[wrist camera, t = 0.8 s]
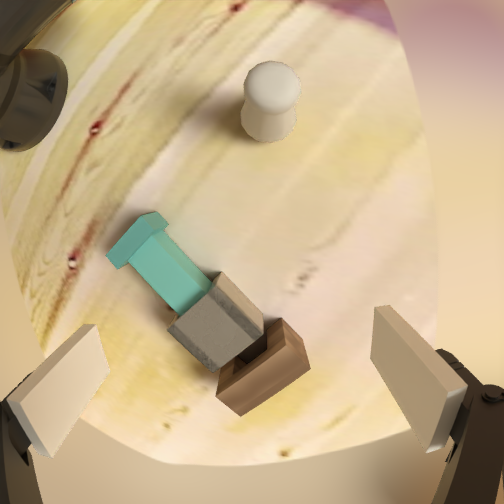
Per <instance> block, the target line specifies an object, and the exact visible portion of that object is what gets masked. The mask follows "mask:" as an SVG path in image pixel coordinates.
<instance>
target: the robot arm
mask: <svg viewBox="0 0 504 504" xmlns="http://www.w3.org/2000/svg"><path fill="white" fill-rule="evenodd" d="M75 1H76V0H0V148H2V149H5V150H9V151H24V150H27V149H30V148H32V147H33V146H35V145H36V144H38V143H39V142H40V141H41V140H42V139H43V138H44V137H45V136H46V135H47V134H48V132H49V131H50V130H51V128H52V127H53V125H54V124H55V122H56V120H57V119H58V117H59V115H60V112H61V110H62V108H63V105H64V102H65V98H66V94H67V87H68V75H67V70H66V67H65V64H64V63H63V61H62V60H61V59H60V58H59V57H58V56H56V55H54V54H53V53H51V52H49V51H46V50H42V49H23V48H24V47H25V46H26V45H27V44H28V43H29V42H30V41H31V40H32V39H33V38H34V37H35V36H36V35H37V34H38V33H39V32H40V31H41V30H42V29H43V28H44V27H45V26H46V25H47V24H48V23H49V22H50V21H51V20H53V19H54V18H55V17H56V16H57V15H58V14H59V13H60V12H62V11H63V10H64V9H65V8H66V7H67V6H69V5H70V4H71V3H72V4H73V3H74V2H75ZM370 359H371V360H372V362H373V364H374V365H375V367H376V369H377V370H378V372H379V373H380V375H381V377H382V378H383V380H384V382H385V383H386V385H387V387H388V388H389V390H390V392H391V393H392V395H393V397H394V398H395V400H396V402H397V404H398V405H399V407H400V409H401V410H402V412H403V414H404V415H405V417H406V419H407V421H408V422H409V424H410V426H411V428H412V429H413V431H414V433H415V435H416V436H417V438H418V440H419V441H420V443H421V445H422V447H423V449H424V450H425V452H426V453H428V452H432V451H434V450H437V449H440V448H443V447H445V445H446V442H447V440H448V438H449V436H451V437H452V439H453V440H454V444H453V446H452V449H451V451H450V453H449V455H448V457H447V459H446V461H445V462H447V464H446V467H445V470H444V473H443V475H442V478H441V481H440V484H439V486H438V488H437V491H436V493H435V496H434V498H433V501H432V503H431V504H495V501H496V496H497V491H498V487H499V482H500V477H501V471H502V475H503V487H504V389H503V388H501V387H499V386H496V385H483V384H482V383H480V381H479V380H478V379H477V378H476V377H475V376H474V375H473V374H472V373H470V371H469V370H468V369H467V368H464V365H463V364H462V363H461V362H459V361H458V359H457V358H455V357H454V355H452V354H451V353H449V352H447V351H445V350H443V349H438V350H434V349H433V348H432V347H431V346H430V345H429V344H428V343H427V342H426V341H425V340H424V339H423V338H422V337H421V336H420V335H419V334H418V333H417V332H416V331H415V330H414V329H413V328H412V327H411V326H410V325H409V324H408V323H407V322H406V321H405V320H404V319H403V318H402V317H401V316H400V315H399V314H398V313H397V312H396V311H395V310H394V309H393V308H392V307H391V306H390V305H386V306H379V307H374V322H373V335H372V346H371V356H370ZM109 373H110V369H109V366H108V363H107V360H106V356H105V353H104V350H103V347H102V343H101V340H100V336H99V333H98V329H97V325H96V324H83V325H82V326H81V327H80V328H79V329H78V330H77V331H76V332H75V333H74V334H73V335H71V336H70V337H69V338H68V339H67V340H66V341H65V342H64V343H63V344H62V345H61V346H60V347H59V348H58V349H56V350H55V351H54V352H53V353H52V354H51V355H50V356H49V357H48V358H47V359H46V360H45V361H44V362H43V363H42V364H41V365H40V366H39V367H38V368H37V369H36V370H35V371H33V372H32V373H30V374H29V375H27V377H25V378H24V379H23V382H20V383H19V384H18V387H15V388H14V390H12V391H11V393H9V394H8V396H7V397H5V399H4V400H3V401H2V402H0V504H43V502H42V498H41V495H40V491H39V487H38V483H37V479H36V474H35V470H34V465H33V460H32V455H31V453H30V451H29V450H28V447H29V446H30V444H32V445H33V447H34V448H35V450H36V451H37V453H38V454H40V455H43V456H46V457H49V458H53V457H54V455H55V453H56V452H57V450H58V449H59V447H60V446H61V444H62V443H63V441H64V439H65V438H66V436H67V435H68V433H69V432H70V430H71V429H72V427H73V426H74V424H75V423H76V421H77V420H78V418H79V417H80V415H81V414H82V412H83V411H84V409H85V408H86V406H87V405H88V403H89V402H90V400H91V399H92V397H93V396H94V394H95V393H96V392H97V390H98V389H99V387H100V386H101V384H102V383H103V381H104V380H105V379H106V377H107V376H108V374H109Z"/></svg>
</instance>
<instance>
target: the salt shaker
mask: <svg viewBox="0 0 504 504" xmlns="http://www.w3.org/2000/svg"><path fill="white" fill-rule="evenodd" d="M300 94H301V86H300V79H299V77H298V76H297V74H296V73H295V71H294V70H293V69H292V68H291V67H289V66H287V65H286V64H284V63H281V62H275V61H267V62H263V63H260V64H257V65H256V66H255V67H254V68H252V69H251V70H250V71H249V72H248V75H247V77H246V79H245V82H244V96H245V98H246V100H245V102H244V105H243V107H242V109H241V112H240V115H241V125H242V126H243V128H244V129H245V131H246V132H247V134H248V135H250V136H251V137H253V138H254V139H256V140H257V141H260V142H268V143H272V142H276V141H280V140H283V139H284V138H285V137H287V136H288V135H289V134H290V133H291V132H292V131H293V128H294V126H295V123H296V121H297V119H296V111H295V107H294V106H295V105H296V104H297V102H298V99H299V97H300Z"/></svg>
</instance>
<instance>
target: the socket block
mask: <svg viewBox="0 0 504 504" xmlns="http://www.w3.org/2000/svg"><path fill="white" fill-rule="evenodd" d="M267 348H268V349H267V350H266V351H265V352H263V353H262V354H261V355H259V356H258V357H257V358H255V359H254V360H253V361H251V362H250V363H249V364H246V363H244V362H243V361H242V360H241V359H240V358H239V357H238V356H237V355H236V356H235V357H234V358H233V359H231V360H230V361H229V362H227V363H226V364H225V365H223V366H222V367H221V372H220V377H219V382H218V386H217V391H216V396H215V397H217V398H218V399H219V400H220V401H221V402H223V403H224V404H225V405H226V406H228V407H229V408H230V409H231V410H233V411H234V412H235V413H236V414H238V415H239V416H240V417H241V416H242V415H244V414H246V413H247V412H249V411H250V410H252V409H254V408H255V407H257V406H258V405H260V404H261V403H263V402H264V401H266V400H267V399H269V398H270V397H272V396H273V395H275V394H276V393H278V392H279V391H281V390H282V389H283V388H285V387H286V386H288V385H289V384H291V383H292V382H293V381H295V380H296V379H298V378H299V377H300V376H302V375H303V374H304V373H306V372H307V371H309V370H310V369H311V368H310V364H309V361H308V357H307V354H306V350H305V346H304V343H303V339H302V338H301V337H300V336H299V335H298V334H297V333H296V332H295V331H294V330H293V329H292V328H291V327H290V326H289V325H288V324H287V323H286V322H285V321H284V320H283V319H282V318H281V319H279V320H278V321H277V322H276V323H274V324H273V325H272V326H271V327H270V328H268V329H267Z"/></svg>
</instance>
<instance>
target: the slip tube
mask: <svg viewBox="0 0 504 504" xmlns="http://www.w3.org/2000/svg"><path fill="white" fill-rule="evenodd" d="M168 225H169V224H168V223H167V222H166V221H165V219H164V218H163V217H162V216H161V215H160V214H159V213H158V212H153V213H149V214H145V215H141V216H140V217H139V218H138V219H137V221H136V222H135V223H134V224H133V225H132V226H131V227H130V228H129V229H128V230H127V232H126V233H125V234H124V235H123V236H122V237H121V238H120V239H119V240H118V242H117V243H116V244H115V245H114V246H113V247H112V249H111V250H110V251H109V252H108V253H107V254H106V255H105V256H106V257H107V258H108V259H109V260H110V261H111V263H112V264H113V265H114V266H115V267H116V268H117V269H120V268H121V267H123V266H124V265H126V264H128V263H130V264H131V265H132V266H133V267H134V268H135V269H136V271H137V272H138V273H139V274H140V275H141V276H142V277H143V278H144V279H145V280H146V281H147V282H148V283H149V285H150V286H151V287H152V288H153V289H154V290H155V291H156V292H157V293H158V294H159V295H160V296H161V297H162V298H163V299H164V300H165V301H166V302H167V303H168V304H169V305H170V306H171V307H172V308H173V309H174V310H175V312H176V313H177V314H178V315H179V316H181V315H182V314H183V313H184V312H186V311H187V310H188V309H189V308H190V307H191V306H192V305H193V304H195V303H196V302H197V301H198V300H199V299H200V298H201V297H202V296H203V295H205V294H206V293H207V292H208V291H209V289H210V287H211V285H212V282H211V281H210V280H209V279H208V278H207V277H206V276H205V275H204V274H203V273H202V272H201V270H200V269H199V268H198V267H197V266H196V265H195V264H194V263H193V262H192V261H191V260H190V259H189V258H188V257H187V256H186V255H185V254H184V252H183V251H182V250H181V249H180V248H179V247H178V246H177V245H176V244H175V243H174V242H173V241H172V240H171V238H170V237H169V236H168V235H167V234H166V233H165V232H164V231H163V230H164V229H165V228H166V227H167V226H168Z"/></svg>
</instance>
